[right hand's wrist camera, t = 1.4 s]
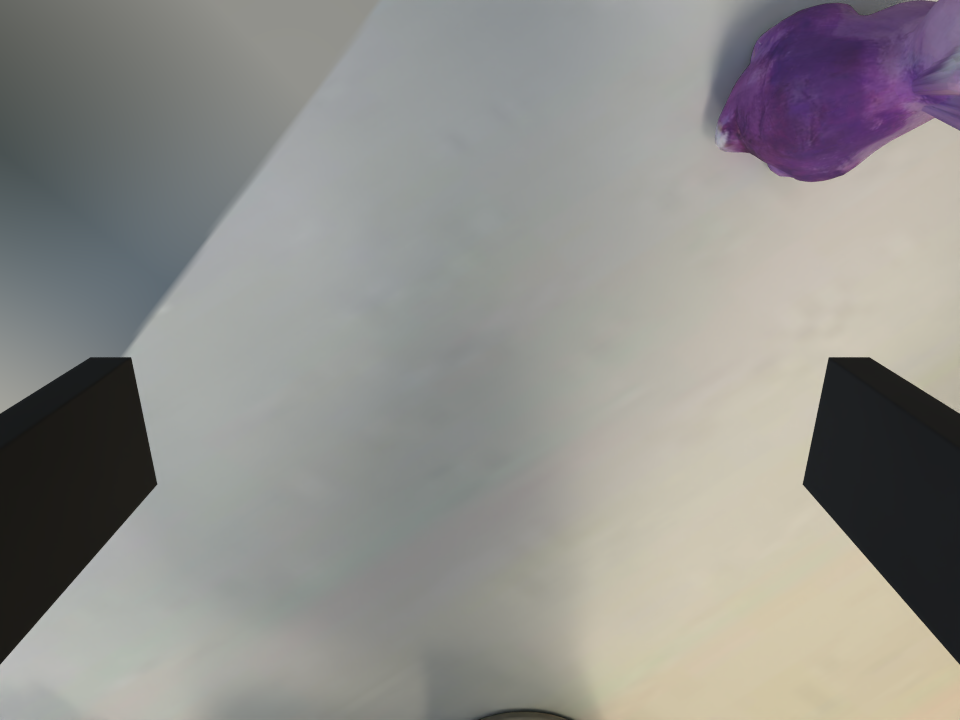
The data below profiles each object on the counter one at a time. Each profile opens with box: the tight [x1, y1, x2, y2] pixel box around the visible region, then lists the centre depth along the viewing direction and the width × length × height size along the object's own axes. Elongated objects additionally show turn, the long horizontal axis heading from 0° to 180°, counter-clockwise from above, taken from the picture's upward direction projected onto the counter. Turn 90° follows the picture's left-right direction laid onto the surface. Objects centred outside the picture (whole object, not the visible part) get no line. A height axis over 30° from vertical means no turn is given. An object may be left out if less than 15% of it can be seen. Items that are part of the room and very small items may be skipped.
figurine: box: [715, 0, 960, 182], centre depth 28 cm, size 9×10×15 cm
